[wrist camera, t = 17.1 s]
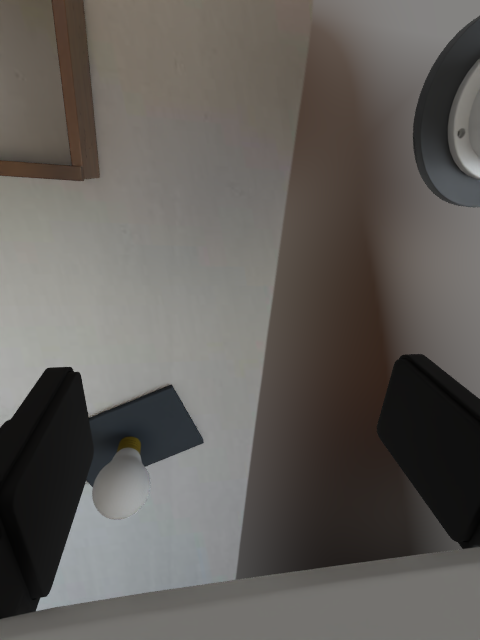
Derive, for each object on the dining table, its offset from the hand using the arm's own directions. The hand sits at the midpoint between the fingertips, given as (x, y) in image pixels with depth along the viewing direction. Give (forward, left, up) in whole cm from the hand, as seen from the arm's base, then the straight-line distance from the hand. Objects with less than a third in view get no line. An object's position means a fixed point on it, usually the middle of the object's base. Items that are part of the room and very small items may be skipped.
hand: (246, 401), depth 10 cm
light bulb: (+18, +20, -26) cm, 38 cm away
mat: (+18, +20, -27) cm, 38 cm away
